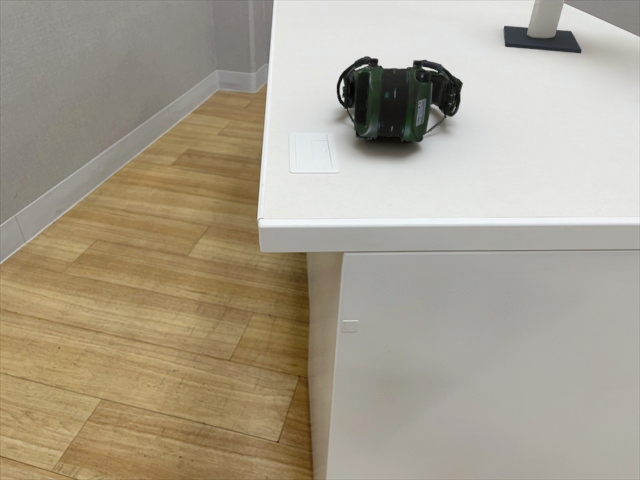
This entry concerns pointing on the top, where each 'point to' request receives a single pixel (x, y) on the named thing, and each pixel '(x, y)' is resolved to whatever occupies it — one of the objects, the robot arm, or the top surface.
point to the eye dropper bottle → (545, 18)
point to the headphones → (397, 98)
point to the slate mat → (540, 40)
